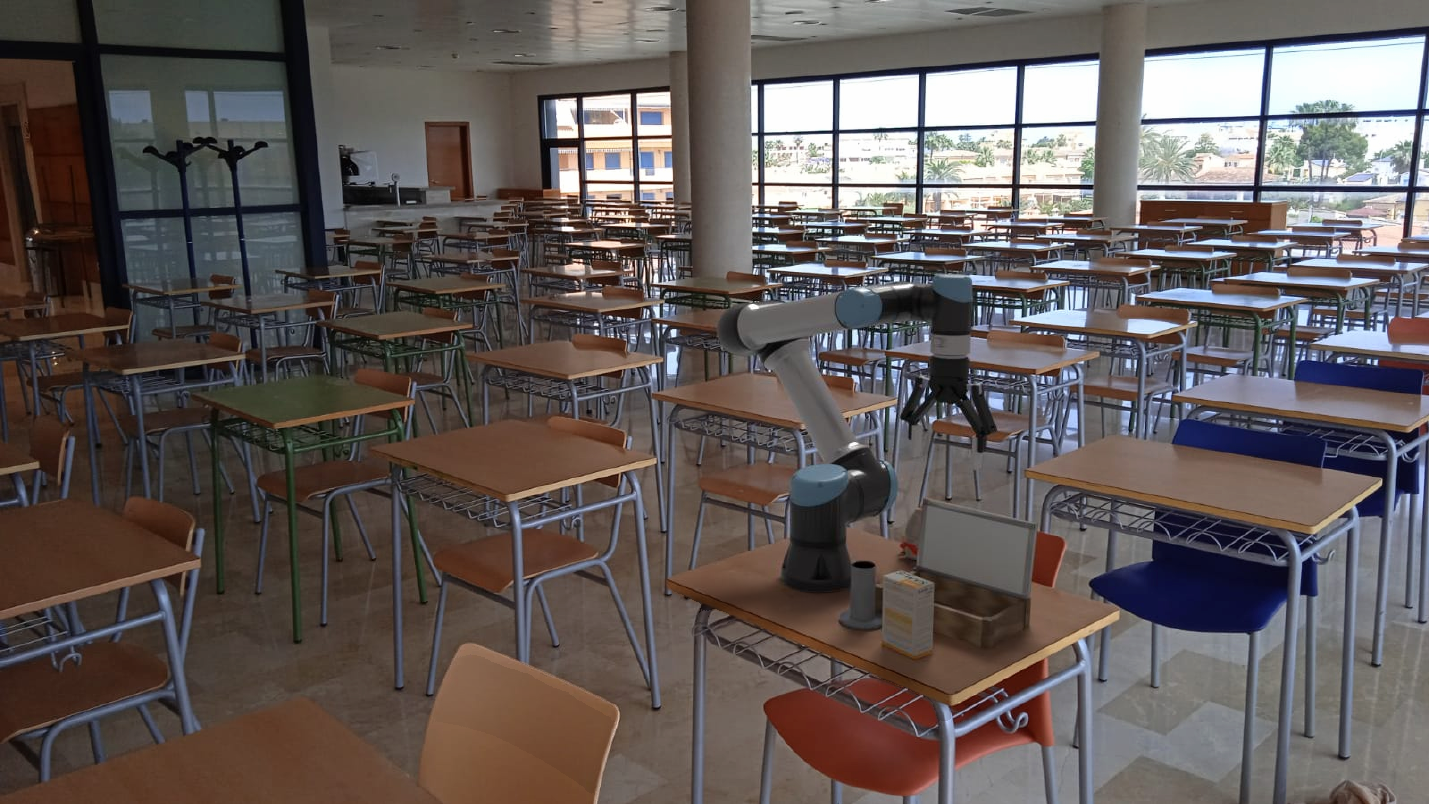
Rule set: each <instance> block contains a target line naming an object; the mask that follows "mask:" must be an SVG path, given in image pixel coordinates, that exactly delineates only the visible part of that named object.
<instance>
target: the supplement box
mask: <svg viewBox="0 0 1429 804" xmlns="http://www.w3.org/2000/svg"><path fill="white" fill-rule="evenodd" d="M909 573H910V572H907V571H904V570H898V571H893V572H891V573H888V574H885V575H883V576H882V577H883V578H882V585H883V615H882V627H881V631H882V632H881V644H882V645H883V646H884V647H886V648H889V649H891V650H893V651H896V652H898V653H900V654H902V655H904V656H906V657H909V658H910V659H913V660H917V659H920V658H923V657H926V656H928V655H931V654H933V645H934V643H933V641H934V640H933V639H934V631H933V613H934V603H935V600H934V583H933V582H930V581H928V580H925V579H923V578H920V577H917V576H915V575H912V574H909Z"/></svg>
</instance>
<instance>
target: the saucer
mask: <svg viewBox="0 0 1429 804" xmlns="http://www.w3.org/2000/svg"><path fill="white" fill-rule="evenodd" d="M882 615H883V614H882V613H880V612H878V611H876V610H875V616H874V619H872V620H869V621H858V620H855V619H853V618H851V616H850V608H848V609H846V610H844V611H841V613H840V614H839V622H840V623H841V625H843V626H845V627H846V628H850V629H853V630H859V631H870V630H877V629H880V628H882Z"/></svg>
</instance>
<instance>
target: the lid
mask: <svg viewBox="0 0 1429 804" xmlns="http://www.w3.org/2000/svg"><path fill="white" fill-rule="evenodd" d="M921 510H922V515H921V525H920V535H919V545H918V555H917V560H916V565H915V566H914V568H916V569H920V570H921V571H924V572H928V573H931V574H935V575H938V576H942V577H945V578H949V579H952V580H956V581H959V582H963V583H966V584H970V585H973V586H977V587H980V588H984V589H987V590H991V591H995V592H998V593H1002V594H1005V595H1009V596H1012V597H1016V598H1022V599H1026V600H1027V599H1028V598H1031V589H1032V580H1033V572H1034V562H1035V554H1036V547H1037V545H1036V544H1037V537H1038V528H1039V523H1036V522H1034V521H1030V520H1024V519H1020V518H1015V517H1011V516H1007V515H1002V514H998V513H993V512H989V511H986V510H980V509H976V508H972V507H968V506H967V507H966V506H963V505H958V504H954V503H949V502H945V501H941V500H936V499H932V498H928V497H923V498H922V508H921Z"/></svg>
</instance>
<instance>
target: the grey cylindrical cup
mask: <svg viewBox="0 0 1429 804" xmlns="http://www.w3.org/2000/svg"><path fill="white" fill-rule="evenodd" d="M876 577H877V565H876V563H875V562H872V561H869V560H855V561H853V562H851V586H850V601H849V602H850V605H849V606H850V608H849V609H850V616H851V618H853V619H855V620H858V621H869V620H872V619H874V616H875V585H876V581H877V580H876Z"/></svg>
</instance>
